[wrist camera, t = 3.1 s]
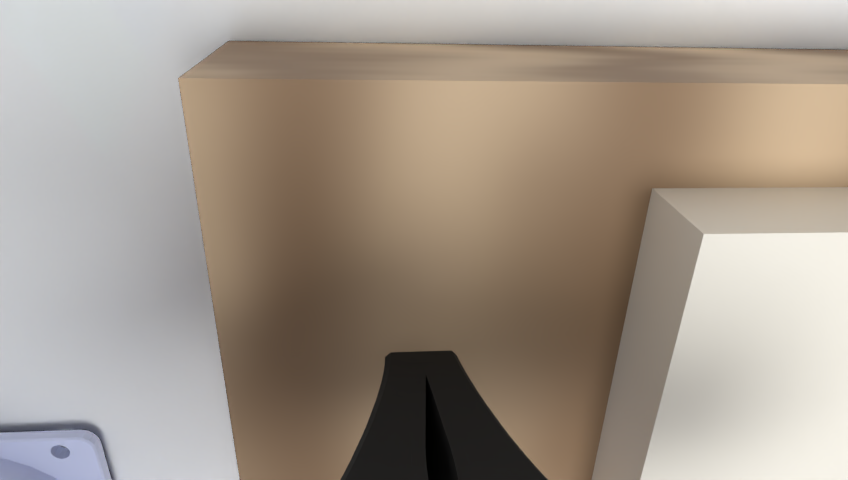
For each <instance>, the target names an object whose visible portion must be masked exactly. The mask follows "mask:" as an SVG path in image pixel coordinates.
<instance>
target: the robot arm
mask: <svg viewBox="0 0 848 480" xmlns="http://www.w3.org/2000/svg"><path fill="white" fill-rule="evenodd" d="M59 445H61V446H64V447H66V448H63V447H61V446H59ZM0 480H112V479H111V476H110V472H109V469H108V465H107V462H106V458H105V455H104V451H103V448H102V444H101V441H100V439H99V438H98V436H96V435H95V434H94V433H92V432H90V431H87V430H58V431H31V432H5V433H0ZM340 480H548V479H547V478H546V477H545V476H544V475H543V474H542V473H541V472H540V471H539V470H538V468H537V467H536V466H535V465H534V464H533V463H532V462H531V461H530V459H529V458H528V457H527V456H526V455H525V454H524V452H523V451H522V450H521V449H520V448H519V446H518V445H517V444H516V443H515V442H514V440H513V439H512V438H511V437H510V435H509V434H508V433H507V431H506V430H505V429H504V428H503V426H502V425H501V424H500V422H499V421H498V419H497V418H496V417H495V415H494V414H493V413H492V411H491V410H490V409H489V407H488V406H487V404H486V403H485V401H484V400H483V398H482V397H481V396H480V394H479V392H478V391H477V389H476V388H475V386H474V385H473V383H472V382H471V380H470V378H469V377H468V375H467V373H466V372H465V370H464V368H463V366H462V364H461V363H460V361H459V359H458V357H457V355H456V354H455V353H454V352H453V351H417V352H390V353H389V354H388V355H387V356H386V357H385V366H384V372H383V377H382V381H381V385H380V388H379V392H378V395H377V398H376V401H375V404H374V407H373V409H372V412H371V415H370V417H369V420H368V423H367V425H366V428H365V430H364V432H363V435H362V437H361V439H360V441H359V443H358V445H357V447H356V450H355V452H354V454H353V456H352V458H351V460H350V462H349V464H348V466H347V468H346V470H345V472H344V474H343V476H342V478H341V479H340Z"/></svg>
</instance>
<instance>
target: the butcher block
mask: <svg viewBox="0 0 848 480" xmlns="http://www.w3.org/2000/svg"><path fill="white" fill-rule="evenodd" d="M178 80H179V87H180V93H181V100H182V106H183V113H184V119H185V126H186V132H187V139H188V145H189V152H190V158H191V165H192V171H193V178H194V184H195V191H196V197H197V204H198V210H199V217H200V223H201V230H202V236H203V243H204V250H205V256H206V263H207V269H208V276H209V282H210V289H211V295H212V302H213V308H214V315H215V321H216V328H217V334H218V341H219V347H220V354H221V360H222V367H223V373H224V380H225V386H226V393H227V399H228V406H229V412H230V419H231V426H232V432H233V439H234V445H235V452H236V458H237V465H238V471H239V478H240V480H340V479H341V478H342V476H343V474H344V472H345V470H346V468H347V466H348V464H349V462H350V460H351V458H352V456H353V454H354V452H355V450H356V447H357V445H358V443H359V441H360V439H361V437H362V435H363V432H364V430H365V428H366V425H367V423H368V420H369V417H370V415H371V412H372V409H373V407H374V404H375V401H376V398H377V395H378V392H379V388H380V385H381V381H382V377H383V372H384V366H385V357H386V356H387V355H388V354H389V353H390V352H417V351H453V352H454V353H455V354H456V355H457V357H458V359H459V361H460V363H461V364H462V366H463V368H464V370H465V372H466V373H467V375H468V377H469V378H470V380H471V382H472V383H473V385H474V386H475V388H476V389H477V391H478V392H479V394H480V396H481V397H482V398H483V400H484V401H485V403H486V404H487V406H488V407H489V409H490V410H491V411H492V413H493V414H494V415H495V417H496V418H497V419H498V421H499V422H500V424H501V425H502V426H503V428H504V429H505V430H506V431H507V433H508V434H509V435H510V437H511V438H512V439H513V440H514V442H515V443H516V444H517V445H518V446H519V448H520V449H521V450H522V451H523V452H524V454H525V455H526V456H527V457H528V458H529V459H530V461H531V462H532V463H533V464H534V465H535V466H536V467H537V468H538V470H539V471H540V472H541V473H542V474H543V475H544V476H545V477H546V478H547V479H548V480H592V475H593V471H594V466H595V461H596V456H597V451H598V447H599V442H600V437H601V432H602V427H603V423H604V418H605V413H606V408H607V403H608V399H609V394H610V389H611V384H612V379H613V375H614V370H615V365H616V360H617V355H618V351H619V346H620V341H621V336H622V331H623V327H624V322H625V317H626V312H627V307H628V303H629V298H630V293H631V288H632V283H633V279H634V274H635V269H636V264H637V259H638V255H639V250H640V245H641V240H642V235H643V231H644V226H645V221H646V216H647V211H648V207H649V202H650V197H651V192H652V188H798V187H848V50H829V49H758V48H688V47H618V46H548V45H477V44H407V43H337V42H267V41H228V42H226V43H225V44H224V45H222V46H221V47H220V48H218V49H217V50H216V51H214V52H213V53H212V54H210V55H209V56H208V57H206V58H205V59H203V60H202V61H201V62H199V63H198V64H197V65H195V66H194V67H193V68H191V69H190V70H189V71H187V72H186V73H185V74H183V75H182V76H180V77H179V78H178Z"/></svg>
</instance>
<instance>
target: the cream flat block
mask: <svg viewBox="0 0 848 480" xmlns="http://www.w3.org/2000/svg"><path fill="white" fill-rule="evenodd" d="M592 480H848V187H798V188H652V192H651V197H650V202H649V207H648V211H647V216H646V221H645V226H644V231H643V235H642V240H641V245H640V250H639V255H638V259H637V264H636V269H635V274H634V279H633V283H632V288H631V293H630V298H629V303H628V307H627V312H626V317H625V322H624V327H623V331H622V336H621V341H620V346H619V351H618V355H617V360H616V365H615V370H614V375H613V379H612V384H611V389H610V394H609V399H608V403H607V408H606V413H605V418H604V423H603V427H602V432H601V437H600V442H599V447H598V451H597V456H596V461H595V466H594V471H593V475H592Z"/></svg>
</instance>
